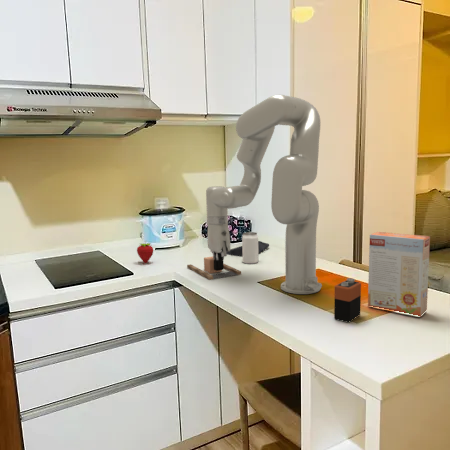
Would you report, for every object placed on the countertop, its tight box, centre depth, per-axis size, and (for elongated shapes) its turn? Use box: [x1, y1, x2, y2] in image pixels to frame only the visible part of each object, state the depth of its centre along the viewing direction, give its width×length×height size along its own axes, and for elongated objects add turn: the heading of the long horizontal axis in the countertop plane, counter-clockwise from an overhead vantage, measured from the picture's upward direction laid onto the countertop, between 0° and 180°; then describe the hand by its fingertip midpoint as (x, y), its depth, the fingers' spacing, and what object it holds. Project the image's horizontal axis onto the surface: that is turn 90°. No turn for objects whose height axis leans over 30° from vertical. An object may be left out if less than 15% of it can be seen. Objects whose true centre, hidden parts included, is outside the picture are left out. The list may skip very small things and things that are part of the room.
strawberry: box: [136, 241, 154, 264], centre depth 173 cm, size 6×8×10 cm
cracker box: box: [367, 231, 431, 316], centre depth 112 cm, size 14×6×21 cm, turn 48°
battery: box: [333, 277, 362, 323], centre depth 109 cm, size 4×7×10 cm, turn 137°
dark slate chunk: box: [226, 240, 270, 258], centre depth 191 cm, size 15×22×5 cm
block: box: [203, 255, 223, 274], centre depth 159 cm, size 5×5×5 cm
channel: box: [186, 262, 242, 281], centre depth 159 cm, size 20×13×1 cm, turn 28°
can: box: [241, 231, 259, 265], centre depth 170 cm, size 6×6×12 cm
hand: (218, 269), depth 154 cm, fingers closed
